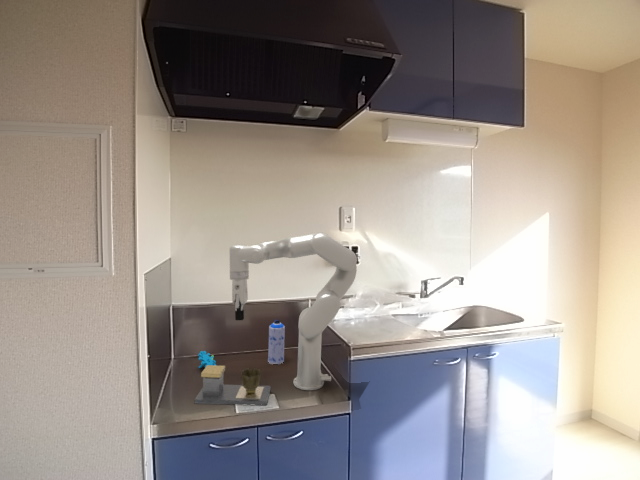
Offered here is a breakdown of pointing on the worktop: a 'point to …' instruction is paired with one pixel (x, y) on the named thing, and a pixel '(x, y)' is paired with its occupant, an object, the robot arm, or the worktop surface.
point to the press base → (230, 393)
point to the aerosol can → (276, 343)
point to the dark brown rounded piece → (251, 379)
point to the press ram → (213, 371)
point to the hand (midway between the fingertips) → (239, 319)
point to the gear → (206, 359)
